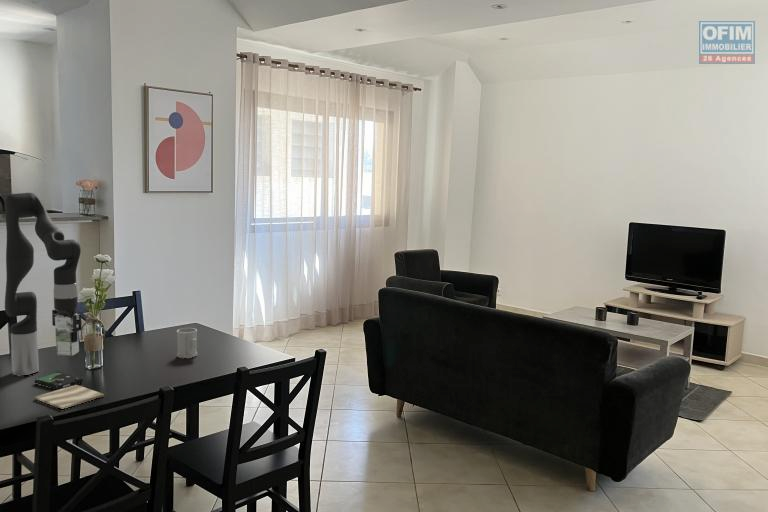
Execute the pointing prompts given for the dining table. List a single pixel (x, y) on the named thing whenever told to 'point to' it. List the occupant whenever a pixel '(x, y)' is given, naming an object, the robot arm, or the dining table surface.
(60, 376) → the disk drive
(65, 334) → the syrup box
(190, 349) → the cup
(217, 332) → the dining table surface
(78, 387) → the birch board
